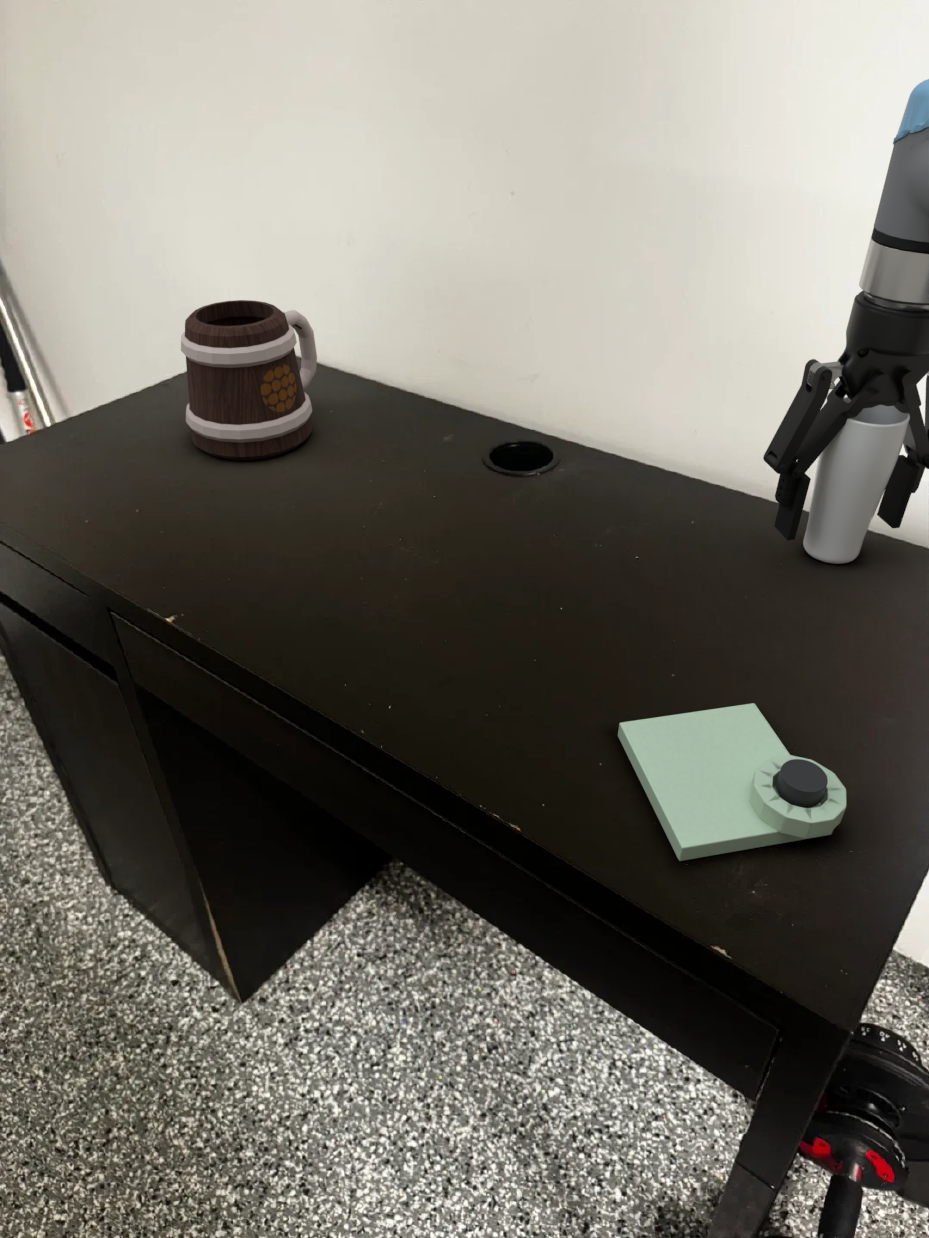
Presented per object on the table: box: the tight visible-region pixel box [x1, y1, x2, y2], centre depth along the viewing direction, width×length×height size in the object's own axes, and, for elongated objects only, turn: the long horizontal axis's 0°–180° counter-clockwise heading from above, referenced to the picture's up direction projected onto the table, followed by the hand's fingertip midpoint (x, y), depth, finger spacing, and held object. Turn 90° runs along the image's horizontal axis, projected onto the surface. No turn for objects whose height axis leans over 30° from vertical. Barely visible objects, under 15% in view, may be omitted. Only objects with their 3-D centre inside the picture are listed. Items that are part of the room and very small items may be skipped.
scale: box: [617, 702, 847, 862], centre depth 63 cm, size 13×12×3 cm
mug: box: [180, 299, 318, 461], centre depth 107 cm, size 20×15×15 cm
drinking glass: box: [802, 396, 910, 565], centre depth 84 cm, size 7×7×15 cm
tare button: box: [776, 759, 828, 808], centre depth 59 cm, size 3×3×2 cm
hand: (836, 527), depth 87 cm, fingers open, 10 cm apart
